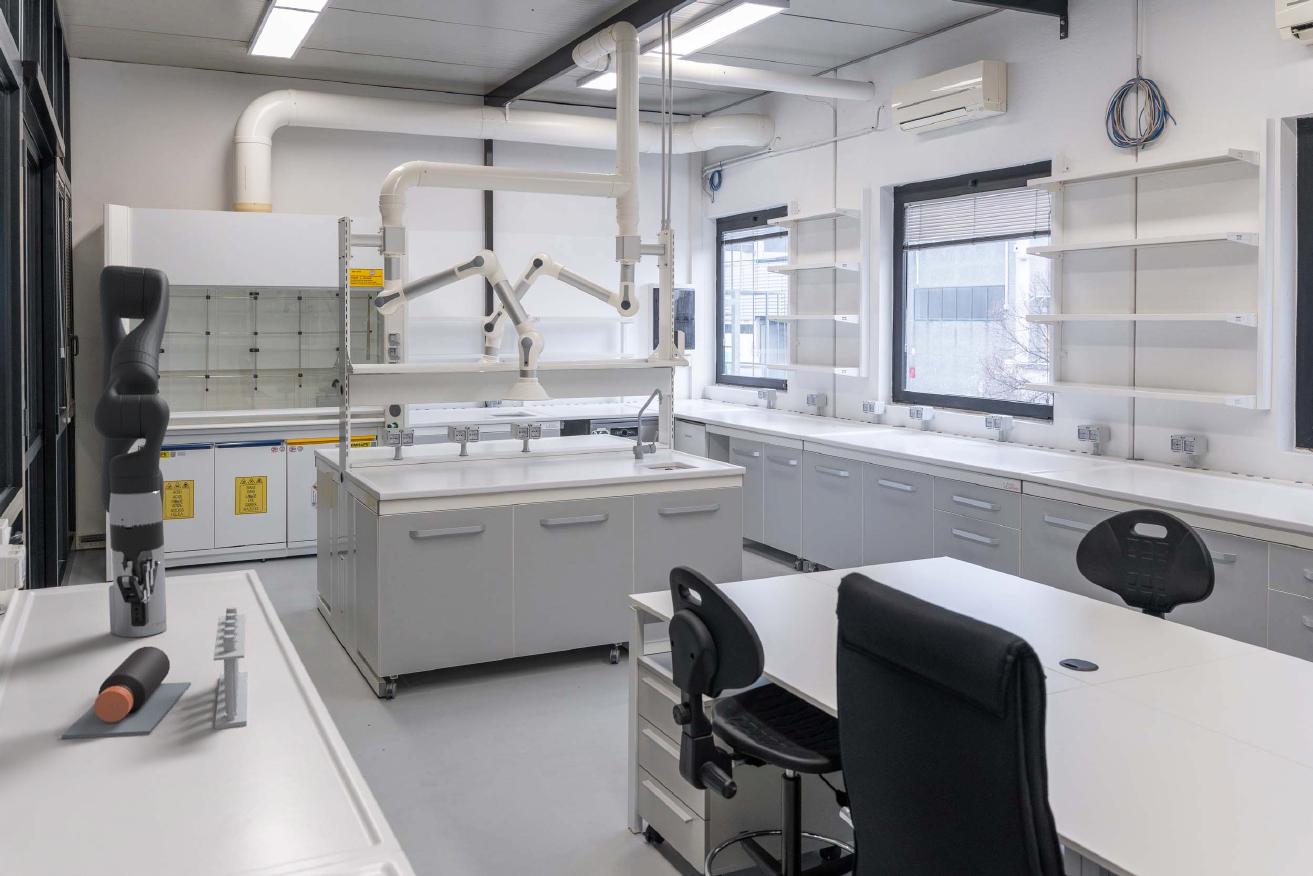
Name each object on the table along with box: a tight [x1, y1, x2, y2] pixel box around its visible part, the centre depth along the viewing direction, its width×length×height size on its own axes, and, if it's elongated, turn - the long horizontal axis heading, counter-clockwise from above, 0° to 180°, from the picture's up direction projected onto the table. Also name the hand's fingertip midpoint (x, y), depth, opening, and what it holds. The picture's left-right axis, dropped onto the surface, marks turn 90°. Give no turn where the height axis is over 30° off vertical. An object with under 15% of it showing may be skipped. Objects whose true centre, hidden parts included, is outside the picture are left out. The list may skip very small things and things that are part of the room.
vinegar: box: [93, 646, 171, 722], centre depth 162 cm, size 7×7×20 cm
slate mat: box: [61, 681, 192, 740], centre depth 160 cm, size 22×12×1 cm, turn 10°
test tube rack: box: [213, 606, 249, 730], centre depth 164 cm, size 25×4×13 cm, turn 22°
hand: (140, 625), depth 164 cm, fingers closed
